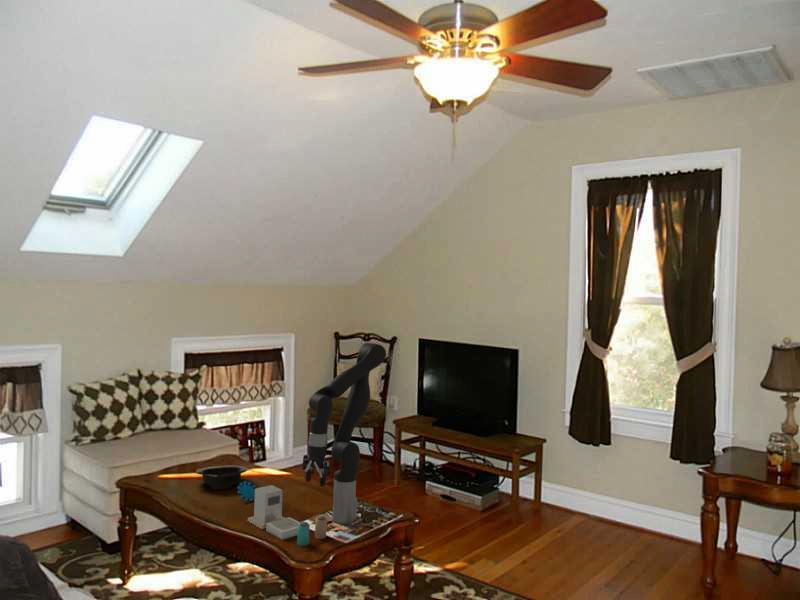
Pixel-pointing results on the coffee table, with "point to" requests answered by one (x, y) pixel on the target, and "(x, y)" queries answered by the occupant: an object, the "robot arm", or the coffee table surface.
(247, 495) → the gear
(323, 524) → the beige cylinder
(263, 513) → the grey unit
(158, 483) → the coffee table surface
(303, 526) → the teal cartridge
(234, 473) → the stone bowl
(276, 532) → the tray
